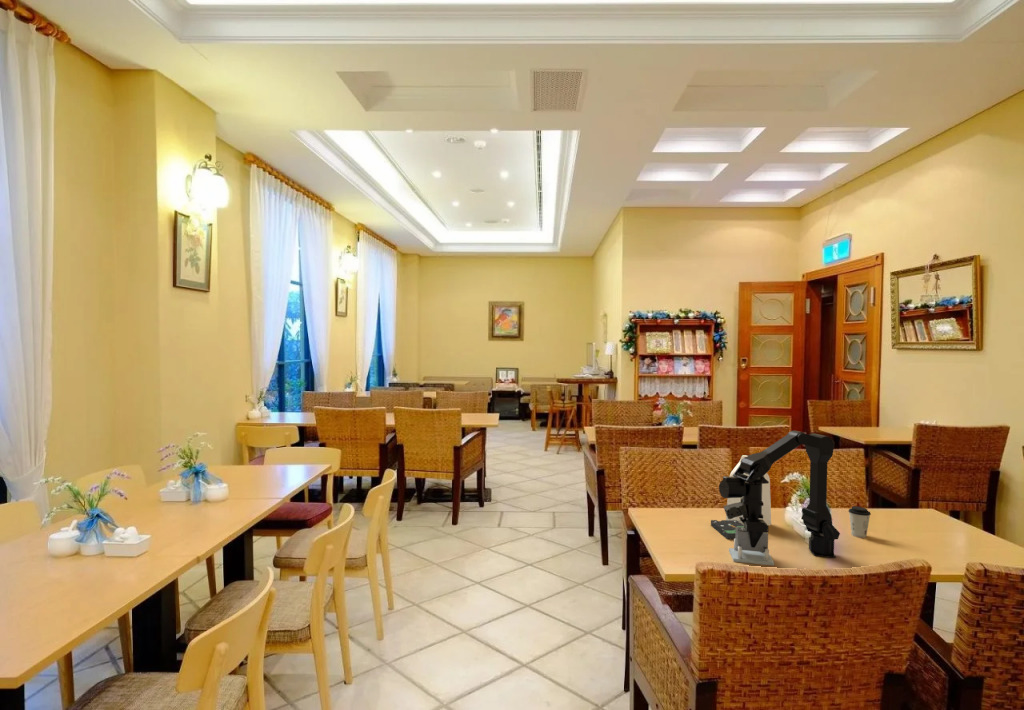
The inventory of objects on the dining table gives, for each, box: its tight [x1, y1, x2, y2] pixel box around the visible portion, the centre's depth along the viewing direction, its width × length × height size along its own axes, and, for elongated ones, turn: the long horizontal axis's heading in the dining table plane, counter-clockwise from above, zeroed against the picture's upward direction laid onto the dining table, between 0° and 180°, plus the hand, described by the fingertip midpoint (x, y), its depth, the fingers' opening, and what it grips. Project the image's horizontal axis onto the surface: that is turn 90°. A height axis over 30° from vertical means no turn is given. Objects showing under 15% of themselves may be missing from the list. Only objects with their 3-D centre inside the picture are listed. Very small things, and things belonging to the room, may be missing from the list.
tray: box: [728, 539, 775, 566], centre depth 174 cm, size 12×9×4 cm
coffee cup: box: [848, 505, 872, 538], centre depth 197 cm, size 7×7×10 cm
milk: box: [725, 454, 772, 526], centre depth 209 cm, size 12×12×26 cm
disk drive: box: [710, 519, 744, 540], centre depth 199 cm, size 10×3×15 cm
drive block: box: [735, 527, 769, 552], centre depth 174 cm, size 9×4×6 cm, turn 76°
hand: (751, 544), depth 174 cm, fingers closed on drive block, 4 cm apart
